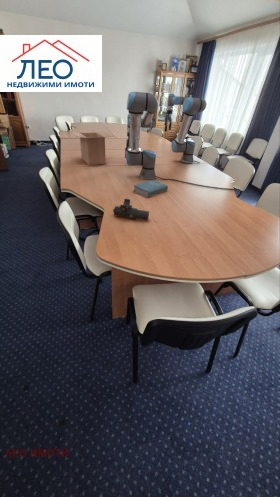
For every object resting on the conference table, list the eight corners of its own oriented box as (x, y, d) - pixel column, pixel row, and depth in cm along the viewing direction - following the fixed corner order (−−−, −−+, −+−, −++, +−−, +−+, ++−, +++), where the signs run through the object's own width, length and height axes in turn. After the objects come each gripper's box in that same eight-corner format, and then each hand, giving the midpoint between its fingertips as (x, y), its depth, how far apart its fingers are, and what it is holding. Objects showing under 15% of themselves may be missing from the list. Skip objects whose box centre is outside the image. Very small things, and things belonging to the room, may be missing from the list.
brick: (128, 156, 237) (128, 146, 231) (134, 158, 234) (135, 148, 228) (124, 158, 232) (125, 148, 226) (131, 159, 229) (132, 149, 223)
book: (152, 185, 190) (153, 179, 187) (167, 191, 181) (167, 185, 178) (133, 191, 176) (133, 185, 173) (147, 198, 167) (148, 191, 164)
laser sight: (146, 223, 136) (147, 209, 130) (111, 218, 139) (111, 203, 133) (149, 216, 144) (150, 202, 138) (115, 211, 147) (115, 197, 141)
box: (116, 165, 229) (116, 136, 213) (83, 168, 214) (80, 137, 198) (102, 154, 259) (101, 128, 243) (71, 156, 244) (68, 129, 228)
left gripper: (132, 130, 227) (131, 153, 240) (122, 132, 212) (122, 157, 226) (138, 131, 224) (137, 155, 238) (129, 134, 210) (128, 159, 223)
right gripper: (170, 109, 263) (168, 129, 275) (163, 110, 244) (160, 131, 257) (176, 109, 260) (174, 129, 273) (169, 110, 242) (166, 132, 255)
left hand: (130, 156), depth 232 cm, fingers closed on brick, 7 cm apart
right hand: (167, 130), depth 265 cm, fingers open, 13 cm apart
